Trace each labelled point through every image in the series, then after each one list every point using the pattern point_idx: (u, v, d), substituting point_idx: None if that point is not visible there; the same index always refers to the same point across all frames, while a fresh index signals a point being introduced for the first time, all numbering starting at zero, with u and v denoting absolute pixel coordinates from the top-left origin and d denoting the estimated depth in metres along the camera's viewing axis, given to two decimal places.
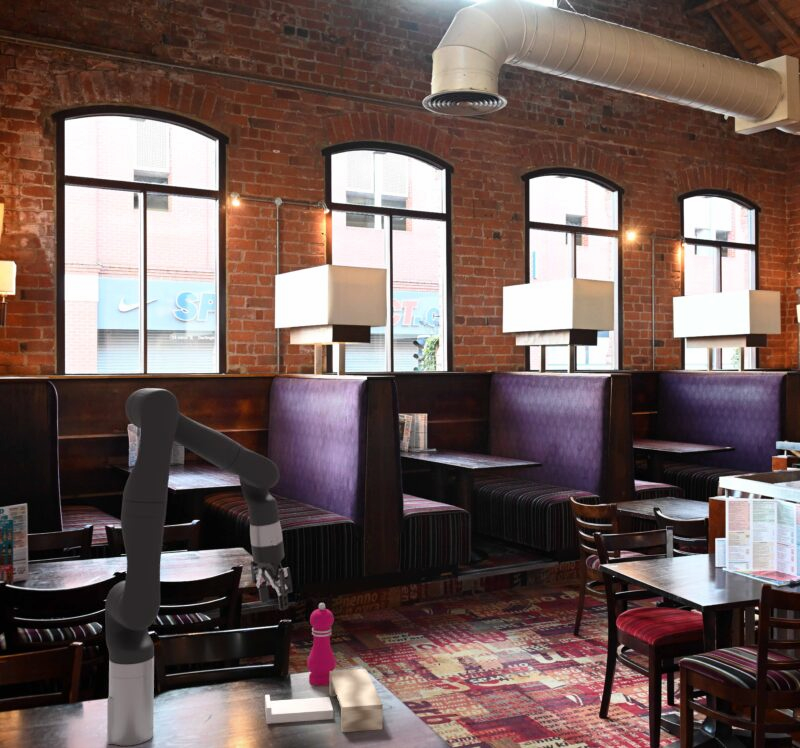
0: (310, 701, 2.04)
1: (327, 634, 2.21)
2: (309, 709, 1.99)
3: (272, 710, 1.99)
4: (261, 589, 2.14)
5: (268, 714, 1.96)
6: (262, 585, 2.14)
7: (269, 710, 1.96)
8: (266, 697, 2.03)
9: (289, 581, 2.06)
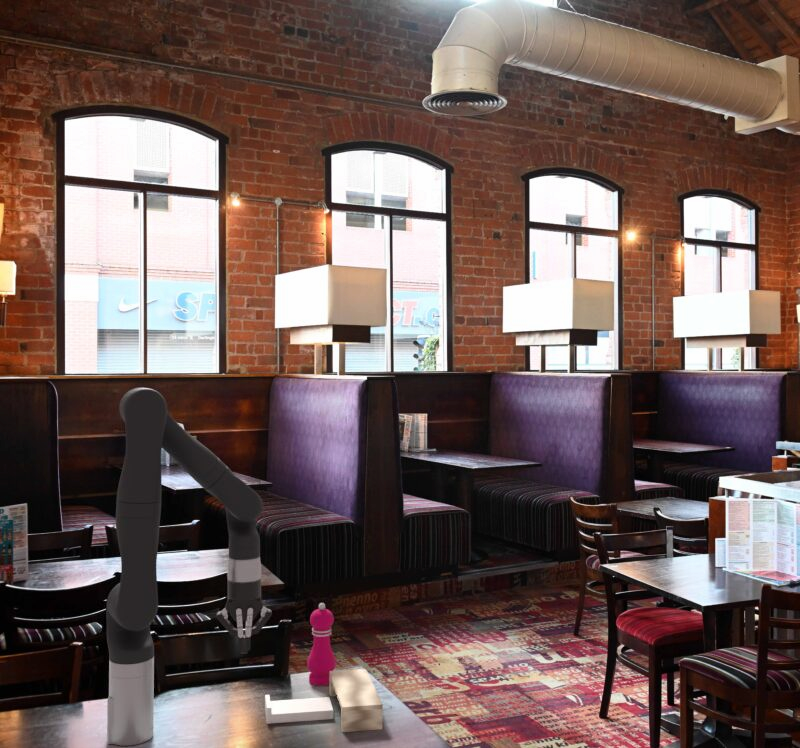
0: (310, 701, 2.04)
1: (327, 634, 2.21)
2: (309, 709, 1.99)
3: (272, 710, 1.99)
4: None
5: (268, 714, 1.96)
6: None
7: (269, 710, 1.96)
8: (266, 697, 2.03)
9: None
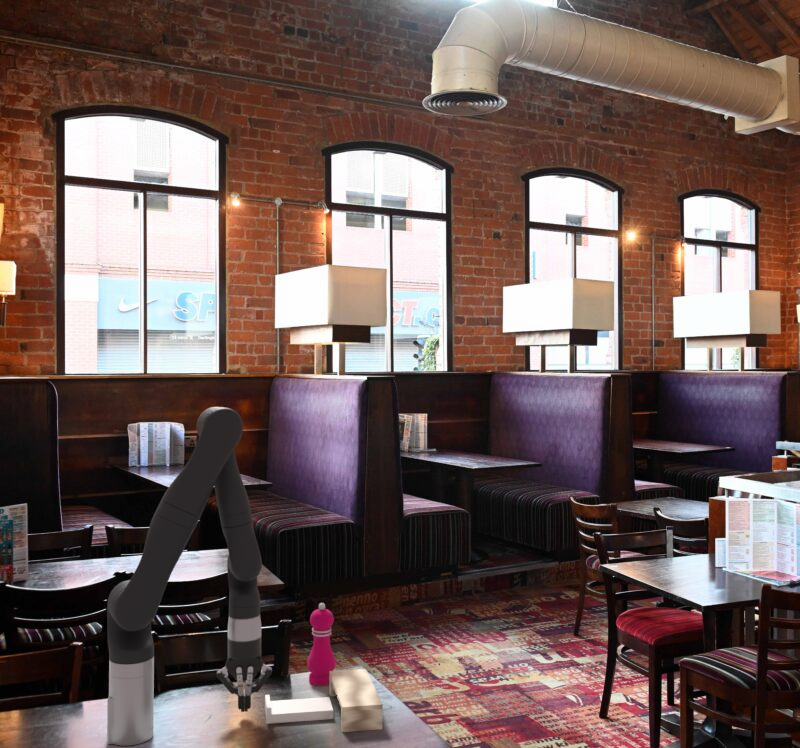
0: (310, 701, 2.04)
1: (327, 634, 2.21)
2: (309, 709, 1.99)
3: (272, 710, 1.99)
4: (244, 696, 1.98)
5: (268, 714, 1.96)
6: None
7: (269, 710, 1.96)
8: (266, 697, 2.03)
9: None
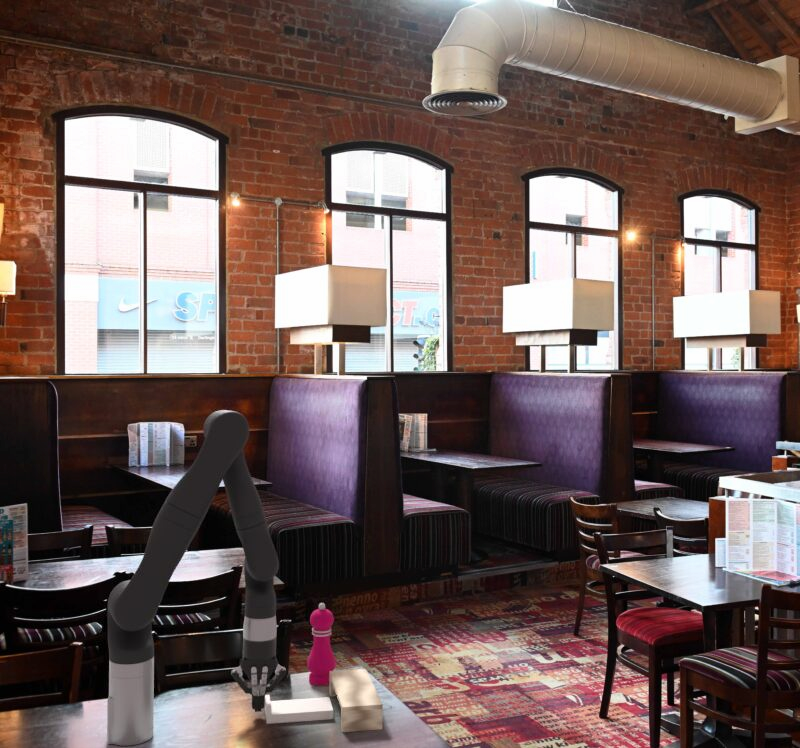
0: (310, 701, 2.04)
1: (327, 634, 2.21)
2: (309, 709, 1.99)
3: (272, 710, 1.99)
4: (258, 696, 1.99)
5: (268, 714, 1.96)
6: None
7: (269, 710, 1.96)
8: (266, 697, 2.02)
9: None
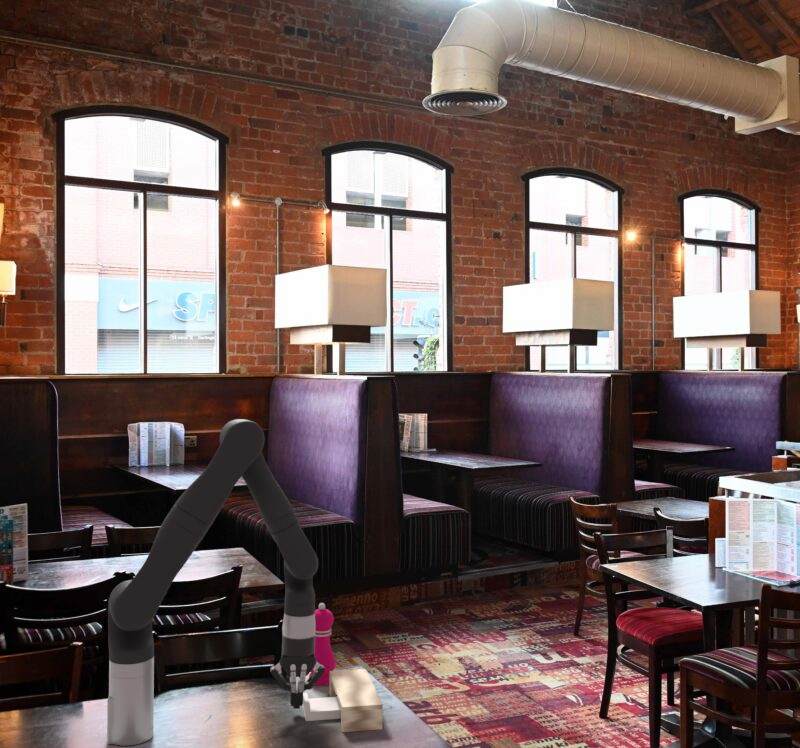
0: None
1: (327, 634, 2.21)
2: None
3: (310, 708, 2.00)
4: None
5: (307, 711, 1.98)
6: None
7: (308, 708, 1.98)
8: (304, 695, 2.04)
9: None
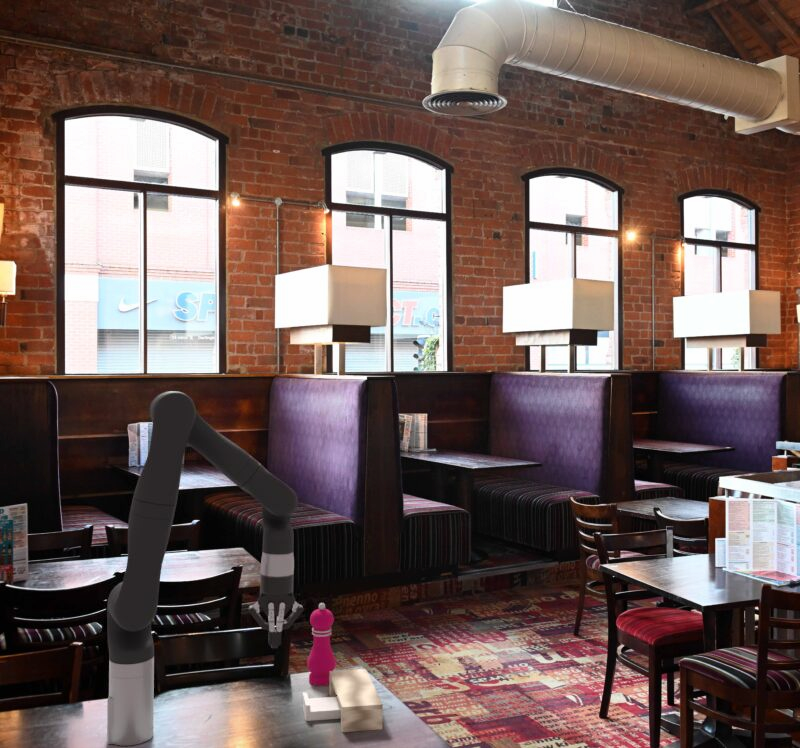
0: None
1: (327, 634, 2.21)
2: None
3: (310, 707, 2.00)
4: (275, 633, 1.99)
5: (307, 711, 1.98)
6: None
7: (308, 707, 1.98)
8: (304, 695, 2.04)
9: None
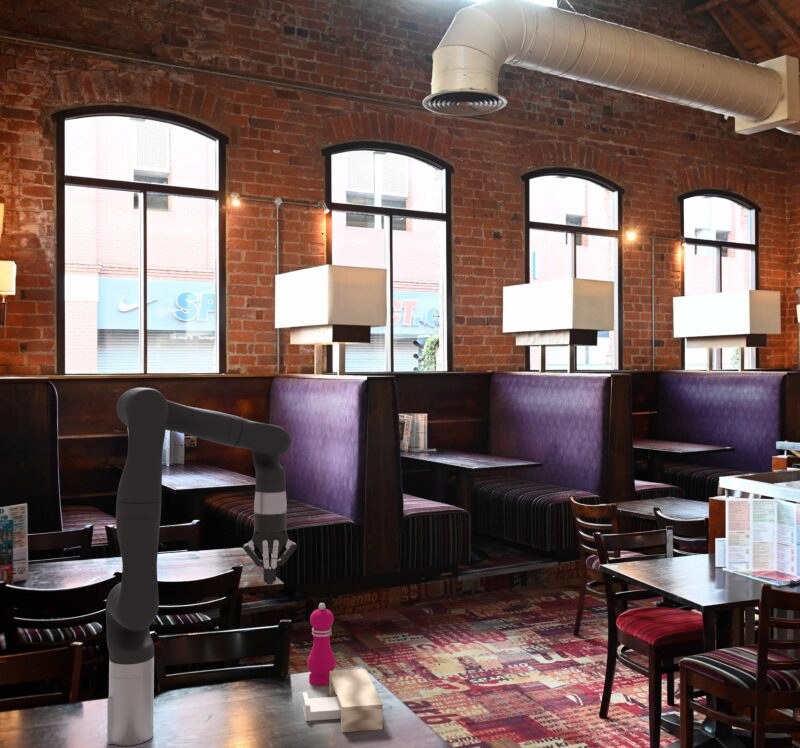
0: None
1: (327, 634, 2.21)
2: None
3: (310, 707, 2.00)
4: None
5: (307, 711, 1.98)
6: (268, 566, 2.06)
7: (308, 707, 1.98)
8: (304, 695, 2.04)
9: None
